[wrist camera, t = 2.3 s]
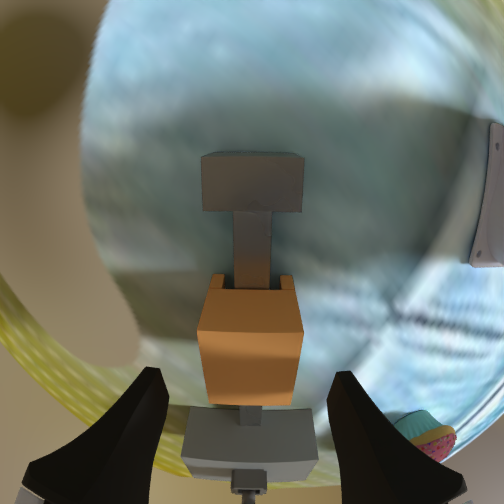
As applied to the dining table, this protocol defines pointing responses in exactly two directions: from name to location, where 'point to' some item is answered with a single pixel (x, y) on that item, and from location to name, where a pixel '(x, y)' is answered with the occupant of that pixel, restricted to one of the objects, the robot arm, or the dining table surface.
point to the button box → (250, 447)
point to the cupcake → (427, 434)
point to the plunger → (248, 496)
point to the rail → (252, 214)
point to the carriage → (250, 343)
